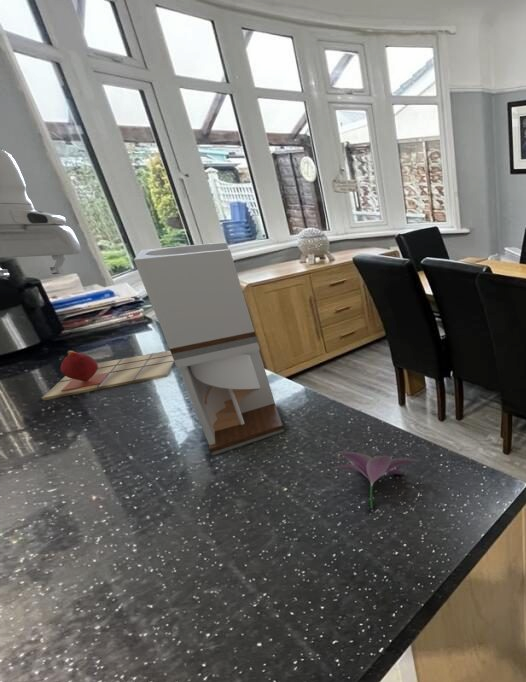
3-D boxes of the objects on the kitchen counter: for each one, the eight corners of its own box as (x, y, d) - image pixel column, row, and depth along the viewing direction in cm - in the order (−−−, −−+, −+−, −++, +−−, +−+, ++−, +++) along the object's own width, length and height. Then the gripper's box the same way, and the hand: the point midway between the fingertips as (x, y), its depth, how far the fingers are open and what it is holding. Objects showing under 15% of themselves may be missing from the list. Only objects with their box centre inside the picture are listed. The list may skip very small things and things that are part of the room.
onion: (98, 373, 98) (84, 343, 95) (106, 378, 95) (92, 348, 92) (65, 383, 93) (49, 352, 90) (73, 389, 91) (57, 357, 87)
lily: (433, 496, 61) (427, 434, 62) (376, 525, 51) (369, 449, 52) (377, 495, 66) (372, 438, 68) (315, 521, 56) (310, 453, 57)
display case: (213, 458, 69) (133, 259, 55) (211, 429, 77) (141, 249, 63) (285, 433, 75) (230, 249, 62) (276, 409, 83) (226, 241, 69)
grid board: (44, 402, 88) (40, 397, 87) (76, 371, 103) (74, 366, 102) (167, 378, 98) (165, 373, 97) (181, 352, 112) (179, 347, 112)
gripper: (-68, 218, 87) (-41, 280, 91) (61, 216, 96) (81, 273, 100) (-47, 219, 92) (-23, 278, 96) (73, 217, 101) (91, 271, 105)
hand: (31, 275), depth 98 cm, fingers open, 8 cm apart
